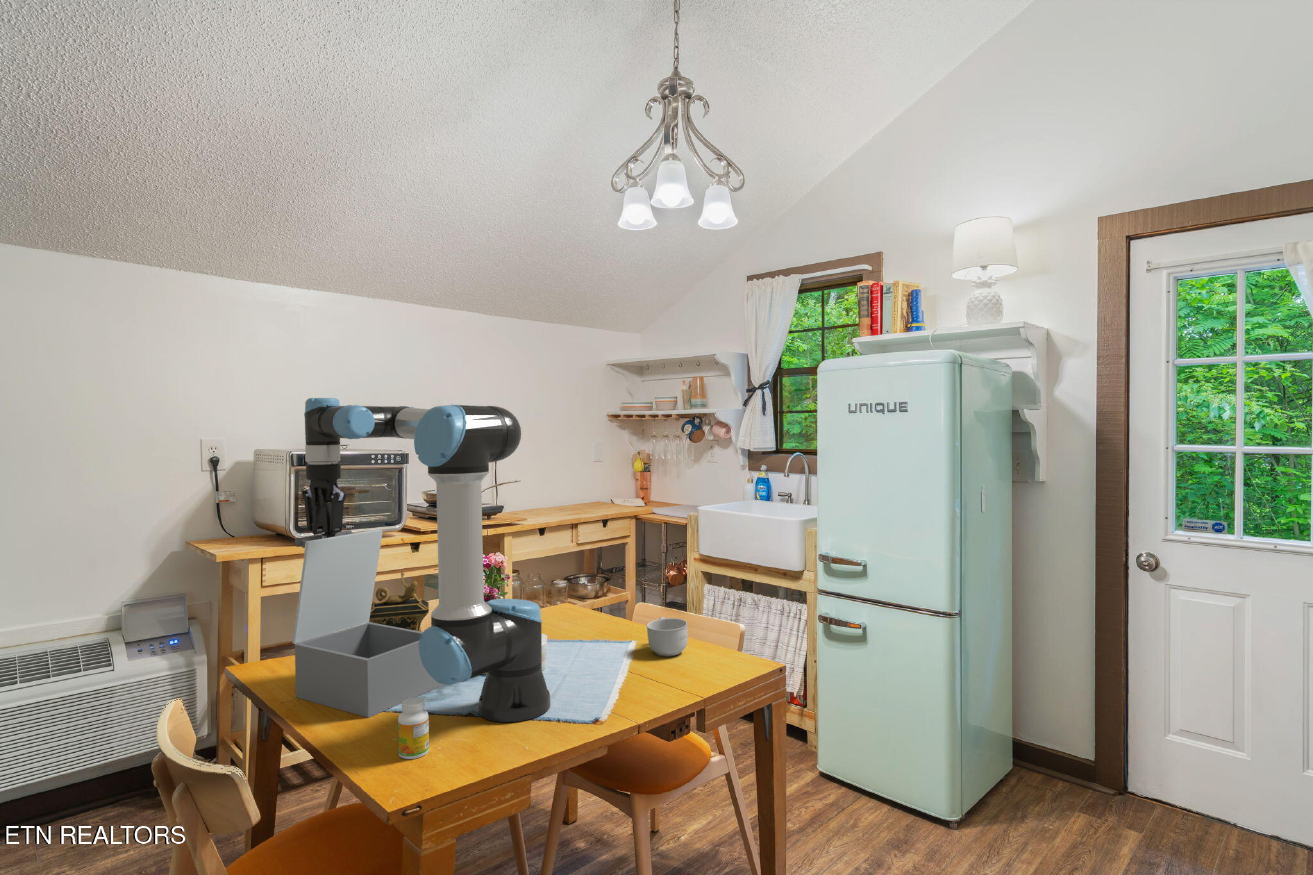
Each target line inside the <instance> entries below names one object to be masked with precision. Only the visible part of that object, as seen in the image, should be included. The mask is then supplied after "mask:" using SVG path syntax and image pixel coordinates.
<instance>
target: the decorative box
mask: <svg viewBox="0 0 1313 875" xmlns="http://www.w3.org/2000/svg"><path fill="white" fill-rule="evenodd" d="M400 575H401V576H400V581H401V583H402V585H403V587H404V588H405V590H404V592H403V593H404V594H402V595H401V594H393V595H390V594H391V593H390V590H389V589H388V588H387V587H385V586H381V587H378V589H377V590H376V592H375V597H376V599H377V601H376V600H374V599H372V605H371V612H370V618H369V622H371V623H376V624H382V625H387V626H393V627H398V628H404V629H409V630H414V631H420V632H422V630H421V629H422V628H421V625H422V622H423V620H424V619H425V618H426V616H427V615H428V614H429V611H430V602H429V601H427V600H425V599H422V598H421V597H420V598H419V597H418V596H417V594H416V593H415V592H416V591H417V586H418V581H417V580H412V582H411V583H410V585H409V584H407V583H406V582H405V579H404V576H405V572H403V570H401V571H400ZM383 593H384V595H383Z"/></svg>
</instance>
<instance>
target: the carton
mask: <svg viewBox="0 0 1313 875" xmlns="http://www.w3.org/2000/svg"><path fill="white" fill-rule="evenodd" d="M422 633H423V631H421V632H420V631H414V630H409V629H404V628H398V627H393V626H387V625H382V624H376V623H371V622H367V623H364V624H361V625H357V626H354V627H351V628H347V629H344V630H340V631H337V632H334V633H330V634H327V635H324V636H320V637H317V638H314V639H310V640H307V641H304V642H300V643H297V644H294V659H295V660H294V664H295V665H294V666H295V668H294V669H295V670H294V671H295V672H294V673H295V698H297V699H300V700H304V701H309V702H311V703H314V704H317V705H322V706H326V707H328V708H333V709H336V710H338V711H339V710H341V711H344V712H347V713H349V714H354V715H357V716H361V717H365V718H367V719H368V718H370V717H374V716H375V715H378V714H380V713H382V712H384V711H387V710H389V709H391V707H392V708H394V707H396V706H398V705H402V702H403V701H404V700H406V699H409V698H414V697H419V696H421V695H423V694H426V693H428V692H431V691H433V690H435V689H437V688H439V687H441V683H438V682H437V681H435V680H434V679H433V678H432V677H431V676H430V675H429V674H428V672H427V671H426V670H425V668H424V666H423V664H422V661H421V658H420V654H419V639H420V636H421V635H422ZM393 706H394V707H393ZM388 708H389V709H388Z"/></svg>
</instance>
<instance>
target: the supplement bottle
mask: <svg viewBox="0 0 1313 875" xmlns="http://www.w3.org/2000/svg"><path fill="white" fill-rule="evenodd" d="M425 707H426V706H425V699H424V698H422V697H419V696H417V697H414V698H409V699H406V700H404V701H403V702H402V703H401V713H400V714H399V715H398V717H397V734H398V737H397V739H398V742H397V743H398V746H397V747H398V751H397V752H398V756H399V757H400V758H401V759H405V760H414V759H415V760H416V759H419V758H422V757H424V756H425V755H427V754H428V753H429V751H430V733H429V732H430V731H429V730H430V728H429V727H430V724H429V723H430V720H429V718H430V717H429V713H428V711H427V710H426V709H425Z"/></svg>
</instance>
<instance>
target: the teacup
mask: <svg viewBox="0 0 1313 875" xmlns="http://www.w3.org/2000/svg"><path fill="white" fill-rule="evenodd" d="M646 630H647V641H648V646H649V648H650V650H651V651H652V652H654V653H655V654H656V655H658V656H661V657H674V656H677V655H679V654H681V653H682V652H683V651H684V650H685V649H686V648H687V646H688V640H689V639H688V638H689V637H688V636H689V635H688V633H689V632H688V622H687V620H685V619H682V618H677V617H665V616H661V617H659V618H658V619H653V620H651V621H649V622H648V623H647V624H646Z"/></svg>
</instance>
